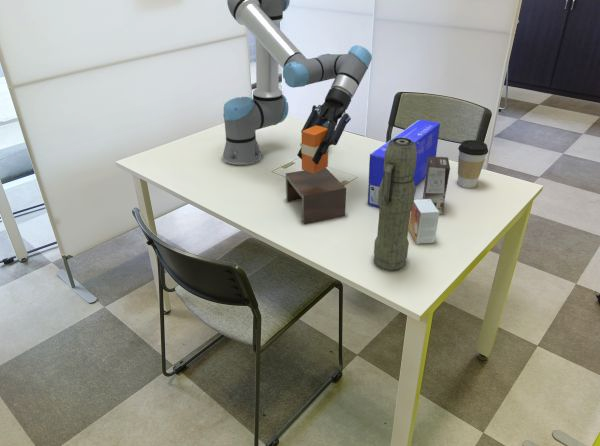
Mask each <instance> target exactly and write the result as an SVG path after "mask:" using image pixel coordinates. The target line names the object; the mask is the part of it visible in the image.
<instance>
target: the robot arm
mask: <svg viewBox="0 0 600 446" xmlns="http://www.w3.org/2000/svg"><path fill="white" fill-rule="evenodd" d="M290 1H291V0H226V4H227V7H228V10H229V12H230V15H231V16H232V18H233V19H234V20H235V21H236V22H237V23H238V24H239V25H241V26H244V27H245V28H246V29H247V30H248V31H249V32H250V33H251V35H253V37H254V38H255V40H254V41H255V42H254V43H255V44H254V45H255V80H256V81H255V83H256V87H255V88H254V89H253V91H252V97H249V96H241V97H239V96H238V97H234V98H231V99H229V100H228V101H226V102H225V103H224V105H223V115H222V116H223V121H224V130H225V144H224V149H223V154H222V159H223V161H224V163H226V164H228V165H231V166H240V167H241V166H250V165H253V164H256V163H258V162H259V161H261V159H262V151H261V149H260V146H259V143H258V141H257V136H256V131H257V130H261V129H264V128H268V127H272V126H276V125H278V124H280V123H283V122H284V121H285V120H286V119H287V117H288V114H289V102H288V101H287V97H286V96H285V95H284V94H283V91H282V89H280V86H279V81H280V80H279V77H280V76H279V73H280V71H279V69H280V68H279V66H280V67H281V68H282V78H283V79H284V83H285V84H286V86H287V87H290V88H293V89H294V88H295V89H296V88H301V87H302V88H303V87H306V86H309V85H312V84H317V83H321V82H325V81H330V80H333V82H332V84H331V85H330V88H329V90H328V92H327V93H326V95H325V98H324V102H323V103H322V104H320V105H321V106H319V107H318V106H317V105H315V104H313V105H312V106H311V107H312V108H311V112H310V114H309V115H308V118H307V119H306V121H305V123H304V125H303V127H302V129H301V131H300V133H301V134H302V131H304V130H306V129H308V128H311V127H313V126H316V125H317V126H322V125H323V124H325V123H326V121H329V124H328V128H327V129H328V130H327V132H326V136H325V139H323V140H324V141H325V143H324V142H323V141H321V143H320V145H319V147H318V149H317V151H316V153H315V155H314V157H313V159H312V161H313V162H314V163H315V164H318V163H319V161H320V159H321V157H322V155H323V154H324V155H325V154H326V152H327V150H328V148H329V147H330V146H337V145H338V143H339V141H340V138H341V137H342V135H343V133H344V130H345V129H346V126H347V124H348V123H349V122H350V121H351V119H352V118H351V116H350V115H349V113H347V112H346V111H347V110H348V108H349V107H350V104H351V102H352V99H353V98H354V96H355V94H356V92H357V90H358V88H359V87H360V84H361V83H362V80H363V78H364V76H365V75H366V73H367V71H368V69H369V67H370V64H371V62H372V59H373V57H372V56H373V55H372V53H371V52H370V51H369V49H368V48H366V47H364V46H362V45H358V44H355V45H353V46H352V47H350V48H349V50H348V52H347V53H341V54H339V53H338V54H337V53H336V54H335V53H325V54H320V55H318V56H317V57H311V58H307V57H306V56H305V55H304V54H303V53H302V52H301V50H300V49H299V48H298V47H297V46H296V45H295V44H294V43H293V42H292V41H291V40H290V38H289V37H288V36H286V35H285V33H284V32H283V31H282V30H281V29H280V28H279V24H280V22H281V21H282V20H283V19H284V16H283V15H284V12H286V11H287V10H288V7H290ZM320 111H321V113H320ZM318 114H319V115H318ZM317 117H318V118H317ZM316 119H317V120H316ZM301 144H302V142H300V145H301ZM328 151H329V150H328ZM296 156H297V157H298V158H299V159H301V160H302V153H301V147H300V149H299V150H298V152H297V155H296Z"/></svg>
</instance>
